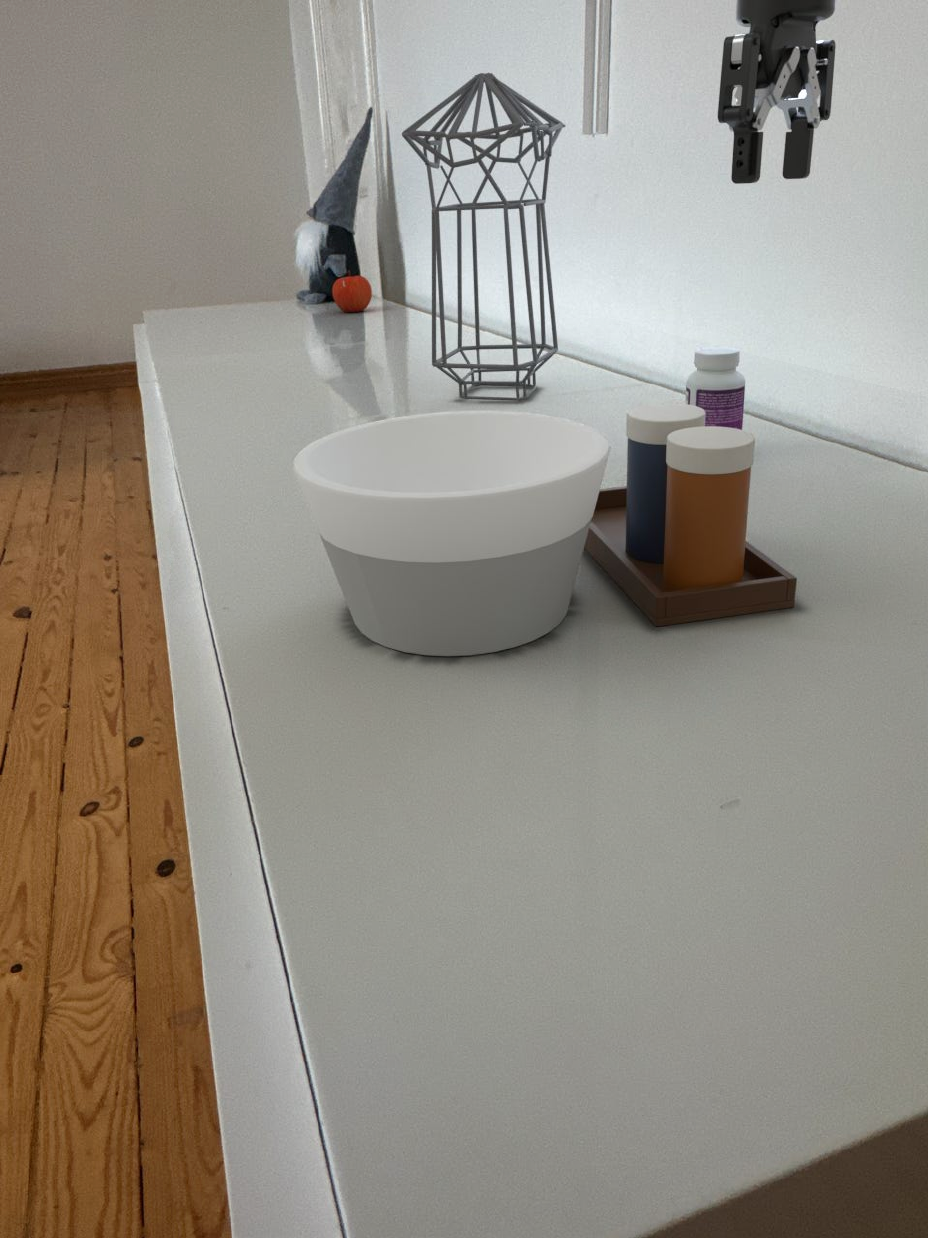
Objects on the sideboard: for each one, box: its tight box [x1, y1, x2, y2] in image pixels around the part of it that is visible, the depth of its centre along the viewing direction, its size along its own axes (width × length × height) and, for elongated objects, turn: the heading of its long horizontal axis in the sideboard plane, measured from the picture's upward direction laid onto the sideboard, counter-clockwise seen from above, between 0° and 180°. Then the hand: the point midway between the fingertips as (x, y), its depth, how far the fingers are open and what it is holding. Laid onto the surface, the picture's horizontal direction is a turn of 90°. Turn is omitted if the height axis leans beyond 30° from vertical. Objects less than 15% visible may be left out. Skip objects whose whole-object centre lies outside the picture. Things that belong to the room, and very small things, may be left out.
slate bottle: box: [625, 402, 706, 563], centre depth 67 cm, size 5×5×10 cm
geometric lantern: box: [401, 72, 566, 402], centre depth 113 cm, size 16×16×35 cm
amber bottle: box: [663, 426, 756, 592], centre depth 61 cm, size 5×5×10 cm
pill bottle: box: [684, 346, 746, 430], centre depth 90 cm, size 5×5×10 cm
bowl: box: [292, 410, 611, 657], centre depth 61 cm, size 19×19×11 cm
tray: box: [584, 485, 798, 627], centre depth 69 cm, size 9×21×2 cm, turn 12°
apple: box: [332, 269, 373, 314], centre depth 195 cm, size 8×8×8 cm
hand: (771, 180), depth 81 cm, fingers open, 8 cm apart
